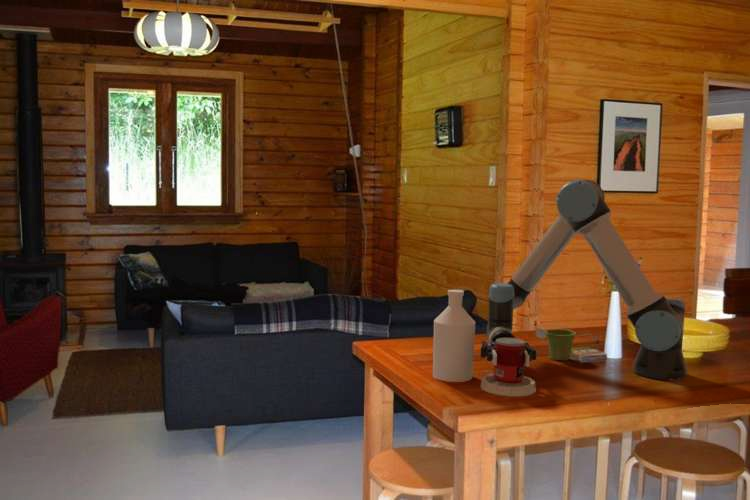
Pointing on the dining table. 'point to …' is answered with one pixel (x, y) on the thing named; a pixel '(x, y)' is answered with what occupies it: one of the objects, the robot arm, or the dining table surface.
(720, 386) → the dining table surface
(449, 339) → the bottle
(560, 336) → the plant pot
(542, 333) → the eyeglasses
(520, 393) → the dish
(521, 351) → the canned food
